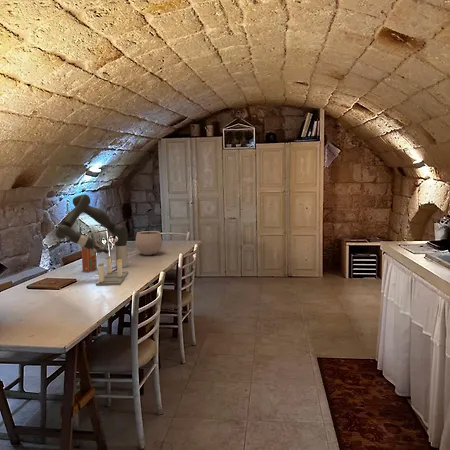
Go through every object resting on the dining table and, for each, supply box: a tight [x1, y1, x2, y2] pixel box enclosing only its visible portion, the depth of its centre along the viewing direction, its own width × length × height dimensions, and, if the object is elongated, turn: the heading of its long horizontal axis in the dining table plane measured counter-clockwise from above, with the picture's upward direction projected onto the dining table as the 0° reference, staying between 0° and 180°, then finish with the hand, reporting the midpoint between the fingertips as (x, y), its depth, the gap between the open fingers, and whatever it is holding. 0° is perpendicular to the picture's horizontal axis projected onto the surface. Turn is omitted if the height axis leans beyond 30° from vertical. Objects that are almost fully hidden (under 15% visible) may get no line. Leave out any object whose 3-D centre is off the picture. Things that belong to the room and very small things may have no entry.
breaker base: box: [95, 255, 129, 287], centre depth 301 cm, size 16×35×14 cm, turn 4°
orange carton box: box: [80, 246, 98, 273], centre depth 331 cm, size 21×7×15 cm
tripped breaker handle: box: [116, 259, 123, 277], centre depth 301 cm, size 3×5×12 cm, turn 4°
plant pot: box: [135, 223, 163, 256], centre depth 393 cm, size 24×24×30 cm
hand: (108, 252), depth 302 cm, fingers closed
